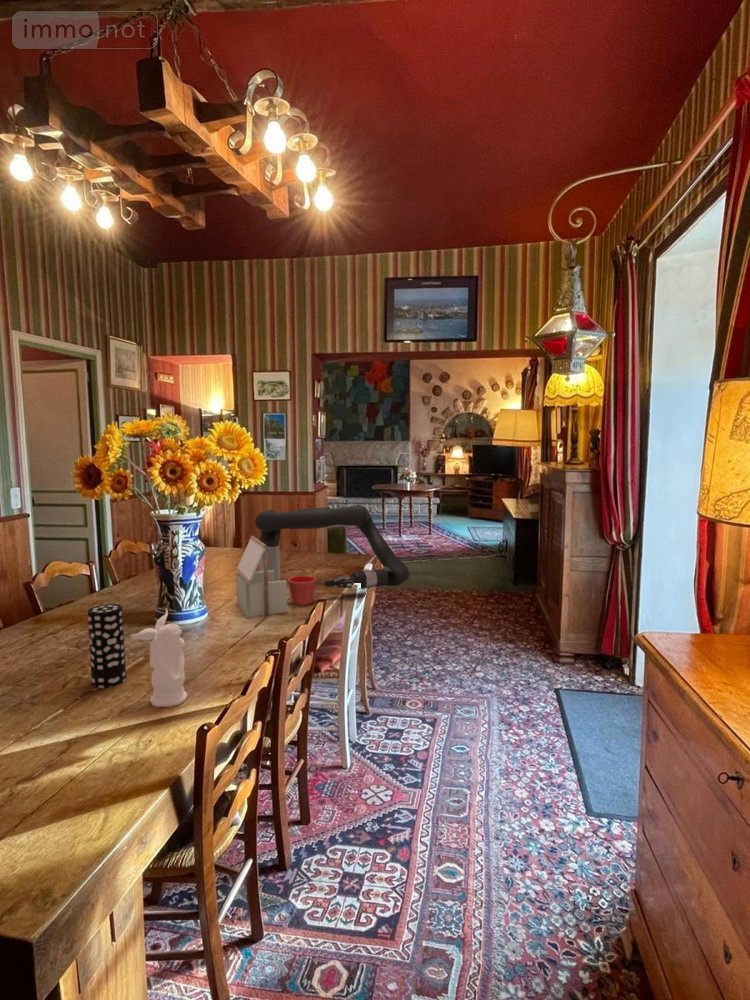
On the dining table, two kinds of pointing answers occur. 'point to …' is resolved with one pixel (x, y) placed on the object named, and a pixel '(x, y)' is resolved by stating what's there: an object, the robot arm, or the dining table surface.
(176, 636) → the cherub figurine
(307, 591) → the flower pot
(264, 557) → the prop stick
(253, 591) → the cold frame
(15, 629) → the dining table surface
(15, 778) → the dining table surface
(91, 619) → the white-spotted black cylinder
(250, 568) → the lid
